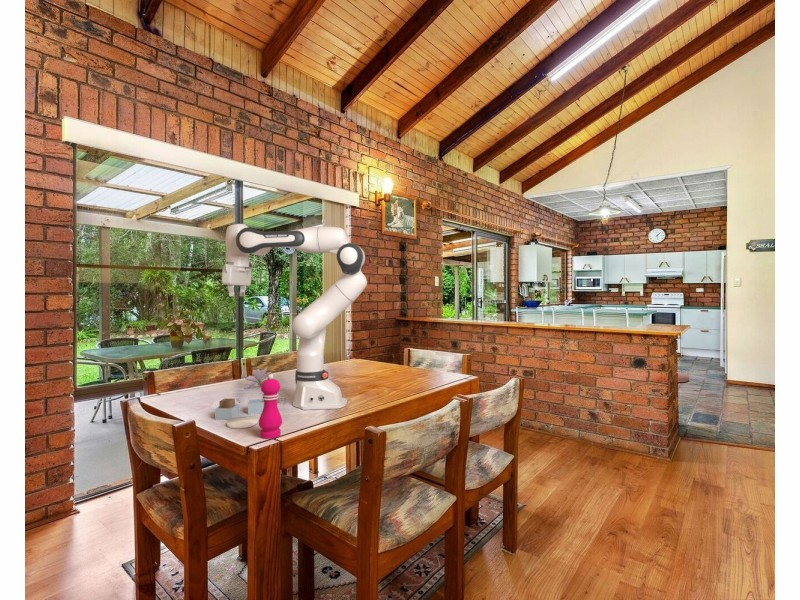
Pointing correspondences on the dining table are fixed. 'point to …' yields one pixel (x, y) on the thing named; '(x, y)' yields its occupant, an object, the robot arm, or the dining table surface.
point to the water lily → (257, 377)
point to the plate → (242, 422)
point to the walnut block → (227, 403)
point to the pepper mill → (270, 409)
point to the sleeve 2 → (255, 406)
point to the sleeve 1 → (226, 413)
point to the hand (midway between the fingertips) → (237, 296)
